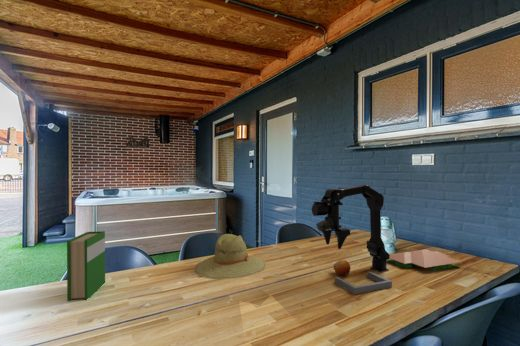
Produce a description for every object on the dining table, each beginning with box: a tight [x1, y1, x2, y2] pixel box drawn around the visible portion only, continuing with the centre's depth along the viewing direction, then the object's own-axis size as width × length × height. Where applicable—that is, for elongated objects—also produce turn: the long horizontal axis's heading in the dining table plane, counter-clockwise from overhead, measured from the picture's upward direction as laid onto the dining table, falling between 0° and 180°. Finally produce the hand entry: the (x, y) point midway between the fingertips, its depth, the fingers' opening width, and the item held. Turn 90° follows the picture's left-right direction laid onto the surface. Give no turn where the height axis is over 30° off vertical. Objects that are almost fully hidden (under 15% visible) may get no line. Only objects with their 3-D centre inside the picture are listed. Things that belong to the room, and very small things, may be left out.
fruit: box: [333, 259, 351, 277], centre depth 141 cm, size 8×8×8 cm
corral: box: [334, 271, 393, 295], centre depth 127 cm, size 20×14×2 cm
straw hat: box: [193, 233, 267, 280], centre depth 154 cm, size 38×40×17 cm
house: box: [388, 249, 461, 272], centre depth 156 cm, size 23×33×8 cm
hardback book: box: [66, 230, 106, 302], centre depth 122 cm, size 18×7×24 cm, turn 8°
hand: (333, 246), depth 138 cm, fingers open, 9 cm apart
